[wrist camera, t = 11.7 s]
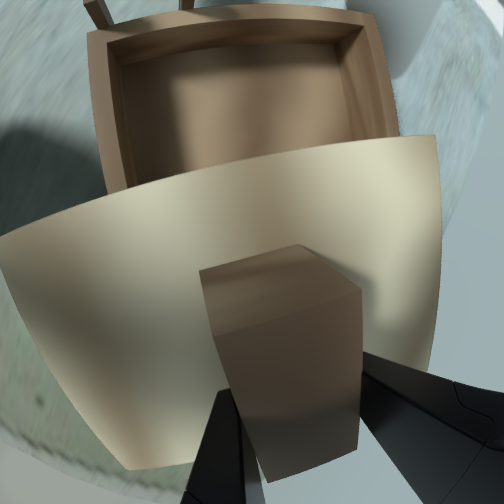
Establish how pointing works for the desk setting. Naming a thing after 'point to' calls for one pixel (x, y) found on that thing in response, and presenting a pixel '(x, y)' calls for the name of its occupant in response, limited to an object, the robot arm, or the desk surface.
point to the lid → (237, 297)
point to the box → (232, 86)
